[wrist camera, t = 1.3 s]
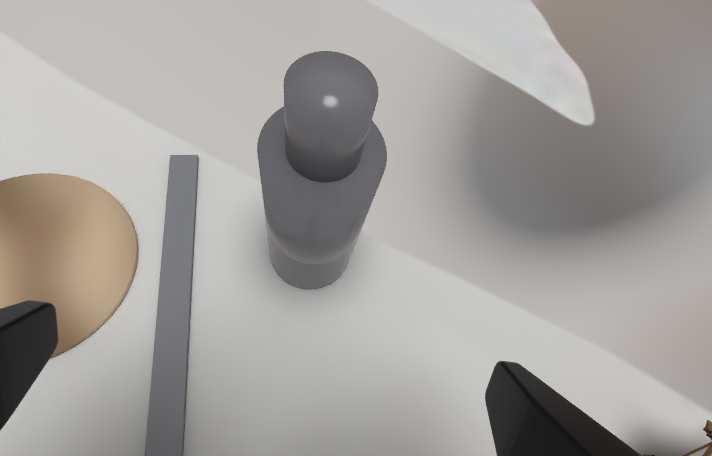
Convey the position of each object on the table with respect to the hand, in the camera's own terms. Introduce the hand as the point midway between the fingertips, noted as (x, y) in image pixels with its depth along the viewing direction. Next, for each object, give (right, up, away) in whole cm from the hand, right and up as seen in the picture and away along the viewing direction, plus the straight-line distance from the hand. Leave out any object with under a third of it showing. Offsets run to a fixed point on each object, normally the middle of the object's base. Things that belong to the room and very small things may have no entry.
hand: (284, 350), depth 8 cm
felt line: (-8, -1, +13) cm, 15 cm away
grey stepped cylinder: (-1, +1, +15) cm, 15 cm away
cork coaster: (-15, +1, +12) cm, 19 cm away
